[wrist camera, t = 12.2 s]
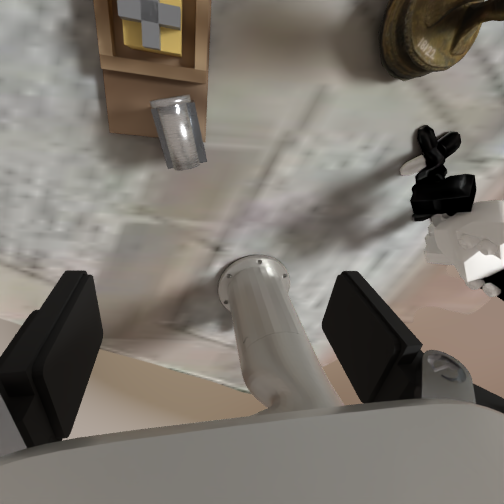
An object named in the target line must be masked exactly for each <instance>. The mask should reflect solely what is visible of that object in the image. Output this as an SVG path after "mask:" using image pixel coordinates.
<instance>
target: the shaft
mask: <svg viewBox="0 0 504 504" xmlns="http://www.w3.org/2000/svg"><path fill="white" fill-rule="evenodd" d="M150 105H151V108H152V109H151V112H152V115H153V119H154V122H155V126H156V129H157V133H158V136H159V140H160V143H161V147H162V150H163V153H164V157H165V160H166V164H167V167H168V169H170V168H174V170H187V169H191V168H195V167H197V166H199V165H200V163H203V162H207V159H206V154H205V149H204V144H203V140H202V135H201V130H200V126H199V121H198V116H197V112H196V107H195V102H194V100H191V99H190V95H180V96H173V97H167V98H161V99H156V100H151V101H150Z"/></svg>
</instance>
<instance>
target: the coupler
mask: <svg viewBox="0 0 504 504" xmlns="http://www.w3.org/2000/svg"><path fill="white" fill-rule="evenodd" d="M117 5H118V16H119V17H120V18H121V19H122V23H123V36H124V45H126V46H128V47H130V48H131V49H135V50H141V51H146V52H152V53H158V54H164V55H170V56H176V57H182V0H117Z"/></svg>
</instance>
